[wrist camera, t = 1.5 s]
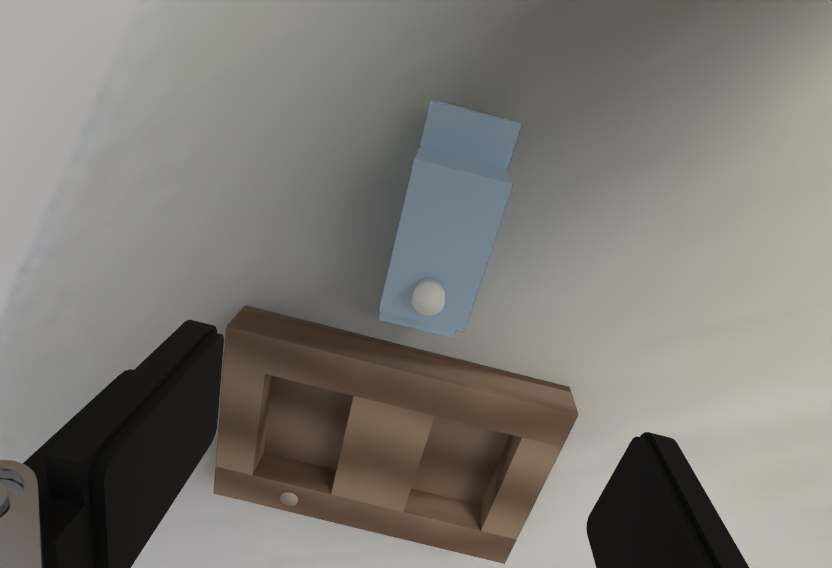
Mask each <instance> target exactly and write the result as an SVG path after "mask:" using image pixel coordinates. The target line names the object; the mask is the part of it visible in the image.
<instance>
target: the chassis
mask: <svg viewBox="0 0 832 568" xmlns="http://www.w3.org/2000/svg"><path fill="white" fill-rule="evenodd" d="M578 415H579V414H578V411H577V408H576V405H575V402H574V399H573V396H572V393H571V390H570V387H567V386H563V385H559V384H555V383H551V382H547V381H543V380H539V379H535V378H531V377H527V376H523V375H519V374H515V373H511V372H507V371H503V370H499V369H495V368H491V367H487V366H483V365H479V364H475V363H471V362H467V361H463V360H459V359H455V358H451V357H447V356H443V355H439V354H435V353H431V352H427V351H423V350H420V349H416V348H412V347H408V346H404V345H400V344H396V343H392V342H388V341H384V340H380V339H376V338H372V337H368V336H364V335H360V334H356V333H352V332H348V331H344V330H340V329H336V328H332V327H328V326H324V325H320V324H316V323H312V322H308V321H304V320H300V319H296V318H292V317H288V316H284V315H280V314H276V313H272V312H268V311H264V310H260V309H256V308H252V307H248V306H244V307H243V309H242V310H241V311H240V312H239V313H238V314H237V315H236V316H235V318H234V319H233V320H232V321H231V322H230V323H229V324H228V326H227V327H226V339H225V352H224V365H223V378H222V391H221V404H220V417H219V430H218V443H217V456H216V468H215V481H214V494H219V495H223V496H227V497H231V498H235V499H239V500H243V501H248V502H252V503H256V504H260V505H264V506H268V507H272V508H277V509H281V510H285V511H289V512H293V513H297V514H301V515H305V516H310V517H314V518H318V519H322V520H326V521H330V522H334V523H339V524H343V525H347V526H351V527H355V528H359V529H363V530H367V531H372V532H376V533H380V534H384V535H388V536H392V537H396V538H401V539H405V540H409V541H413V542H417V543H421V544H425V545H429V546H434V547H438V548H442V549H446V550H450V551H454V552H458V553H463V554H467V555H471V556H475V557H479V558H483V559H487V560H491V561H496V562H500V563H504V564H505V562H506V560H507V558H508V556H509V554H510V552H511V550H512V548H513V546H514V544H515V542H516V540H517V538H518V536H519V534H520V532H521V530H522V528H523V526H524V524H525V522H526V520H527V518H528V516H529V514H530V512H531V510H532V508H533V506H534V504H535V502H536V500H537V498H538V496H539V494H540V492H541V489H542V487H543V485H544V483H545V481H546V479H547V477H548V475H549V473H550V471H551V469H552V467H553V465H554V463H555V461H556V459H557V457H558V455H559V453H560V451H561V449H562V447H563V445H564V443H565V441H566V439H567V437H568V435H569V433H570V431H571V429H572V427H573V425H574V423H575V421H576V419H577V417H578Z"/></svg>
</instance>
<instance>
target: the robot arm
mask: <svg viewBox="0 0 832 568" xmlns="http://www.w3.org/2000/svg"><path fill="white" fill-rule="evenodd" d="M223 343H224V337H223V335H222V334H218V333H217V329H216V327H215V326H213V325H209V324H205V323H201V322H197V321H193V320H187V321H186V322H184V323H183V324H182V325H181V326H180V327H179V328H178V329H177V330H176V331H175V332H174V333H173V334H172V335H171V336H170V337H168V338H167V339H166V340H165V341H164V342H163V343H162V344H161V345H160V346H159V347H158V348H157V349H156V350H155V351H154V352H153V353H152V354H150V355H149V356H148V357H147V358H146V359H145V360H144V361H143V362H142V363H141V364H140V365H139V366H138V367H137V368H136V369H135V370H131V369H130V370H127V371H124V372H123V373H122V374H120V375H119V376H118V377H117V378H116V379H114V380H113V381H112V382H111V383H110V384H109V385H108V386H107V387H106V388H105V389H104V390H102V391H101V392H100V393H99V394H98V395H97V396H96V397H95V398H94V399H93V400H92V401H91V402H89V403H88V404H87V405H86V406H85V407H84V408H83V409H82V410H81V411H80V412H79V413H77V414H76V415H75V416H74V417H73V418H72V419H71V420H70V421H69V422H68V423H67V424H65V425H64V426H63V427H62V428H61V429H60V430H59V431H58V432H57V433H56V434H55V435H53V436H52V437H51V438H50V439H49V440H48V441H47V442H46V443H45V444H44V445H43V446H41V447H40V448H39V449H38V450H37V451H36V452H35V453H34V454H33V455H32V456H31V457H29V458H28V459H27V460H26V461H25V462H24V463H23V464H22V463H18V462H15V461H8V460H0V568H131V566H132V565H133V563H134V562H135V560H136V558H137V557H138V555H139V554H140V552H141V551H142V549H143V548H144V546H145V545H146V543H147V542H148V540H149V538H150V537H151V535H152V534H153V532H154V531H155V529H156V528H157V526H158V525H159V523H160V522H161V520H162V518H163V517H164V515H165V514H166V512H167V511H168V509H169V508H170V506H171V505H172V503H173V502H174V500H175V498H176V497H177V495H178V494H179V492H180V491H181V489H182V488H183V486H184V485H185V483H186V482H187V480H188V478H189V477H190V475H191V474H192V472H193V471H194V469H195V468H196V466H197V465H198V463H199V462H200V460H201V459H202V457H203V455H204V454H205V452H206V451H207V449H208V448H209V446H210V445H211V443H212V441H213V439H214V436H215V433H216V430H217V420H218V407H219V394H220V381H221V369H222V356H223ZM587 535H588V539H589V542H590V546H591V549H592V553H593V557H594V560H595V564H596V568H749V567H748V565H747V563H746V561H745V560H744V558H743V556H742V554H741V553H740V551H739V549H738V548H737V546H736V544H735V542H734V541H733V539H732V537H731V535H730V534H729V532H728V530H727V529H726V527H725V525H724V523H723V522H722V520H721V518H720V516H719V515H718V513H717V511H716V510H715V508H714V506H713V504H712V503H711V501H710V499H709V497H708V496H707V494H706V492H705V491H704V489H703V487H702V485H701V484H700V482H699V480H698V478H697V477H696V475H695V473H694V472H693V470H692V468H691V466H690V465H689V463H688V461H687V459H686V458H685V456H684V454H683V453H682V451H681V449H680V447H679V446H678V444H677V443H676V441H675V440H674V439H672V438H669V437H665V436H661V435H657V434H653V433H649V432H646V433H643V434H642V435H641V436H640V437H635V438H633V440H632V441H631V443H630V444H629V446H628V448H627V450H626V451H625V453H624V455H623V457H622V458H621V460H620V462H619V464H618V466H617V467H616V469H615V471H614V473H613V474H612V476H611V478H610V480H609V481H608V483H607V485H606V487H605V489H604V490H603V492H602V494H601V496H600V497H599V499H598V501H597V503H596V504H595V506H594V508H593V510H592V512H591V513H590V515H589V517H588V521H587Z"/></svg>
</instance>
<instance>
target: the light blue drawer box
mask: <svg viewBox="0 0 832 568" xmlns="http://www.w3.org/2000/svg"><path fill="white" fill-rule="evenodd" d="M521 126H522V124H521V123H520V122H516V121H513V120H509V119H505V118H501V117H497V116H494V115H490V114H486V113H482V112H478V111H475V110H471V109H467V108H463V107H459V106H456V105H452V104H448V103H444V102H441V101H437V100H433V99H431V101H430V105H429V110H428V114H427V118H426V122H425V126H424V131H423V135H422V139H421V143H420V148H419V150H418V152H417V154H416V156H415V158H414V162H413V166H412V170H411V175H410V179H409V183H408V187H407V192H406V196H405V200H404V205H403V209H402V213H401V217H400V222H399V226H398V230H397V234H396V239H395V243H394V247H393V251H392V256H391V260H390V264H389V269H388V273H387V277H386V281H385V286H384V290H383V294H382V298H381V303H380V307H379V311H380V317H379V320H381V321H385V322H389V323H393V324H397V325H401V326H405V327H409V328H413V329H417V330H421V331H425V332H429V333H433V334H437V335H441V336H445V337H449V338H453V337H454V334H455V331H460V332H464V331H465V328H466V325H467V322H468V319H469V316H470V313H471V310H472V307H473V304H474V301H475V298H476V295H477V292H478V289H479V286H480V283H481V280H482V277H483V273H484V270H485V267H486V264H487V261H488V258H489V255H490V252H491V249H492V246H493V243H494V240H495V237H496V234H497V231H498V228H499V225H500V222H501V219H502V216H503V213H504V210H505V207H506V204H507V201H508V198H509V195H510V192H511V189H512V186H513V183H512V181H511V178H510V176H509V174H508V171H507V169H508V166H509V163H510V160H511V157H512V154H513V151H514V147H515V144H516V141H517V138H518V135H519V132H520V129H521Z"/></svg>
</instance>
